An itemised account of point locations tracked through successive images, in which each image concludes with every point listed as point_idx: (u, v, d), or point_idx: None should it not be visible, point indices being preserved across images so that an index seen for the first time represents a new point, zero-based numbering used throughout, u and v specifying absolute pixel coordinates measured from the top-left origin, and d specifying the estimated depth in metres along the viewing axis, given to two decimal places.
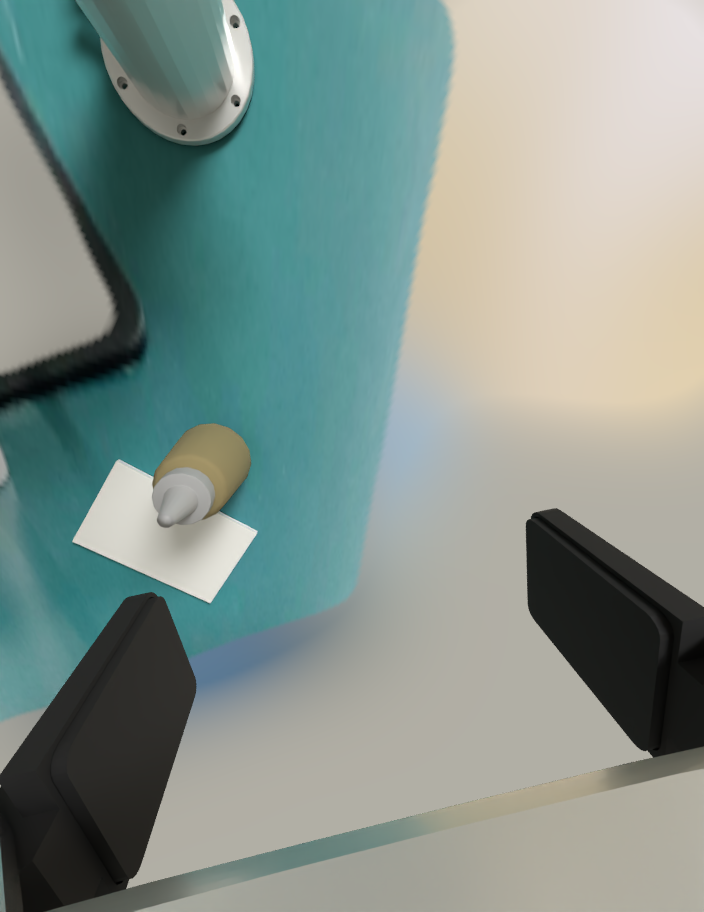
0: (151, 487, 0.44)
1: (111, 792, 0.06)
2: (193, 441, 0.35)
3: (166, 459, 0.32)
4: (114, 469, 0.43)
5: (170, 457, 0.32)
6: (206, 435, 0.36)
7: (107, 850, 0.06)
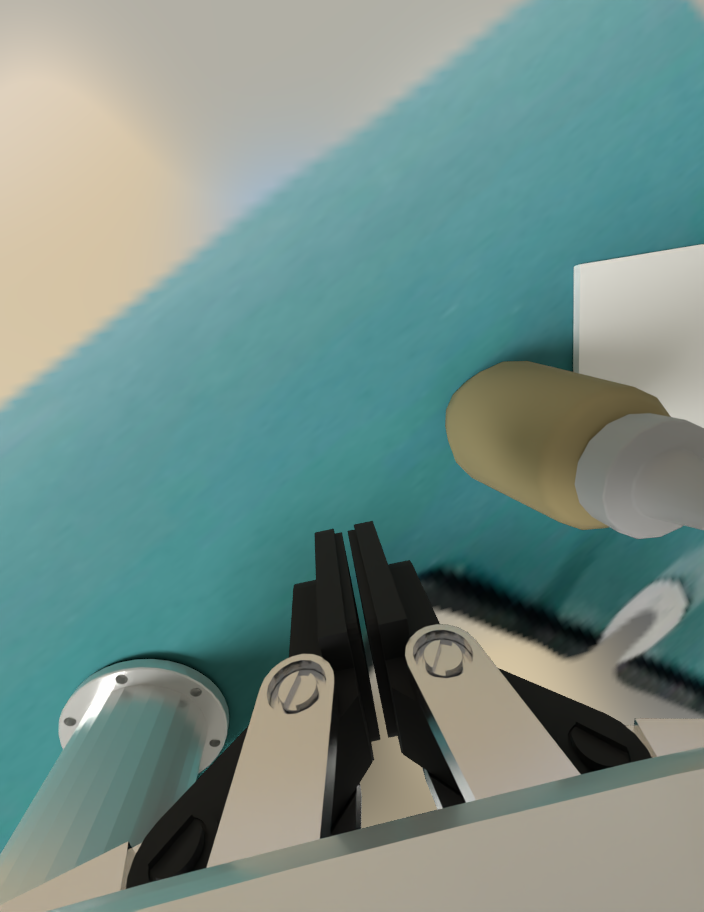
0: None
1: (366, 668, 0.07)
2: (512, 494, 0.19)
3: (578, 527, 0.17)
4: None
5: (571, 525, 0.17)
6: (488, 477, 0.20)
7: (370, 711, 0.07)
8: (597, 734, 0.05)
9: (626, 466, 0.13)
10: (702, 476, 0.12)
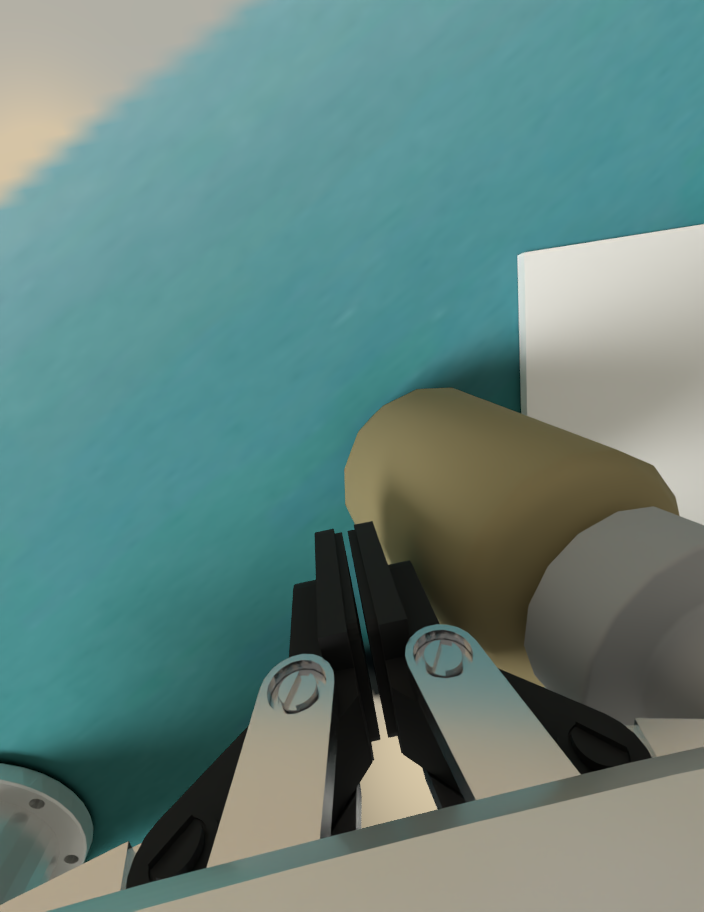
0: None
1: (366, 668, 0.07)
2: None
3: None
4: None
5: None
6: None
7: (370, 711, 0.07)
8: (597, 734, 0.05)
9: (628, 644, 0.06)
10: None
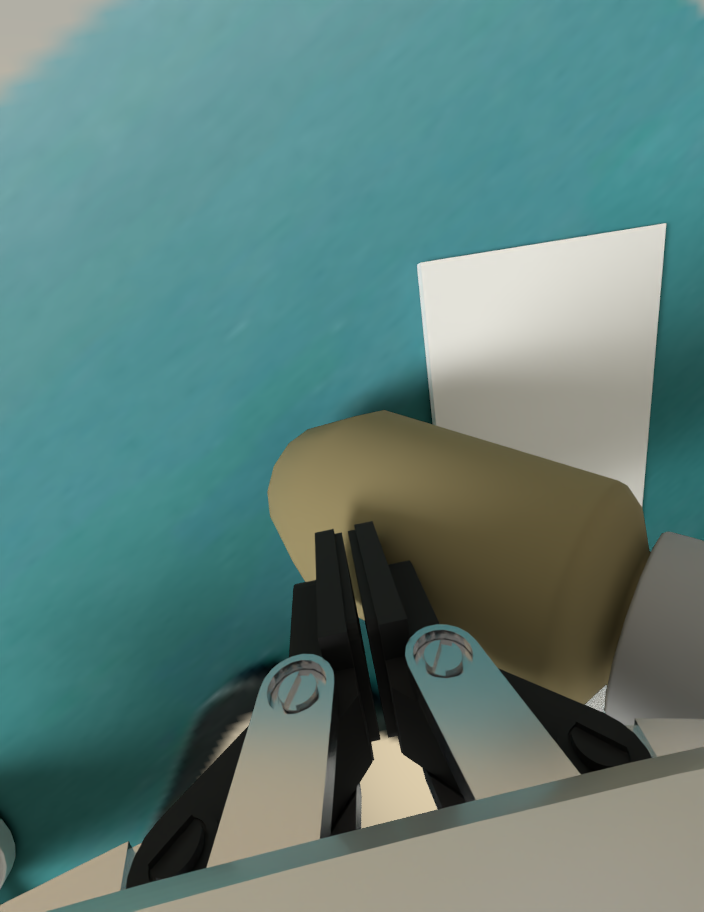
0: None
1: (366, 668, 0.07)
2: None
3: None
4: None
5: None
6: None
7: (370, 711, 0.07)
8: (597, 734, 0.05)
9: None
10: None
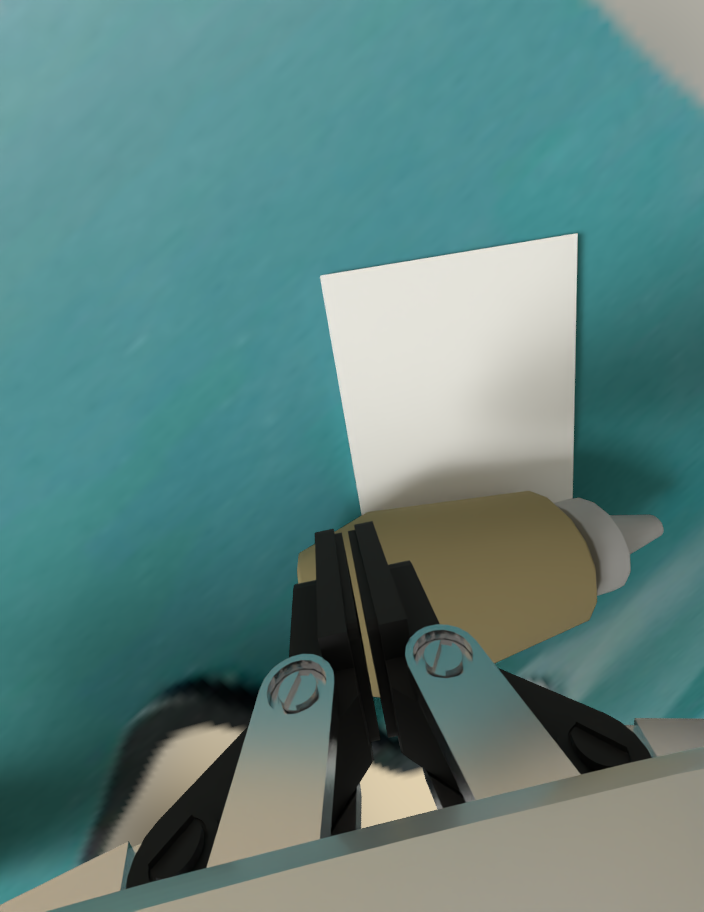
0: None
1: (366, 668, 0.07)
2: None
3: None
4: None
5: None
6: None
7: (370, 711, 0.07)
8: (597, 734, 0.05)
9: None
10: (637, 545, 0.18)
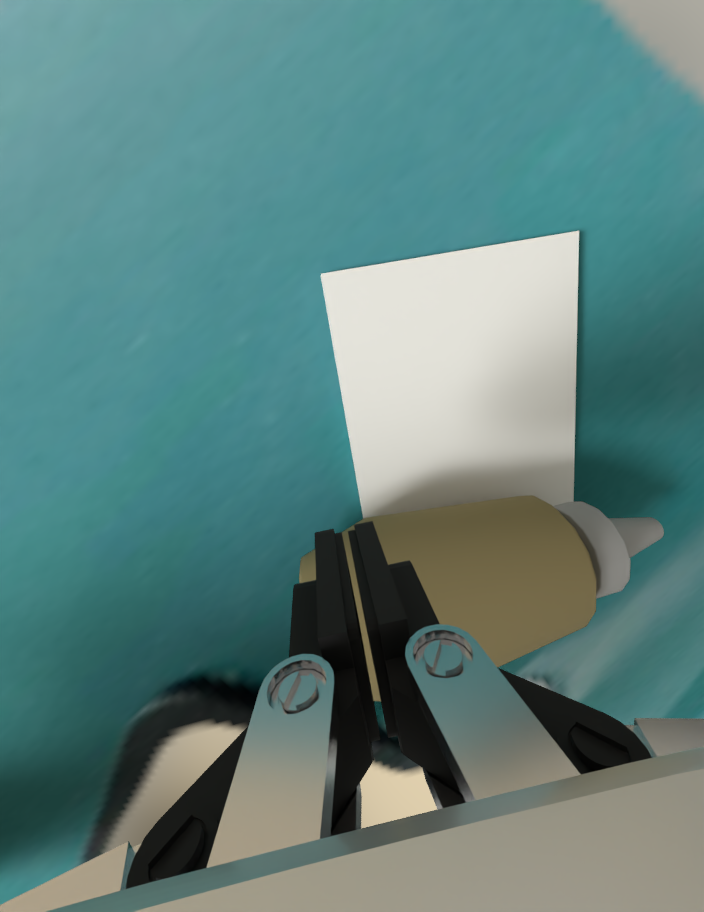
0: None
1: (366, 668, 0.07)
2: None
3: None
4: None
5: None
6: None
7: (370, 711, 0.07)
8: (597, 734, 0.05)
9: None
10: (637, 549, 0.18)
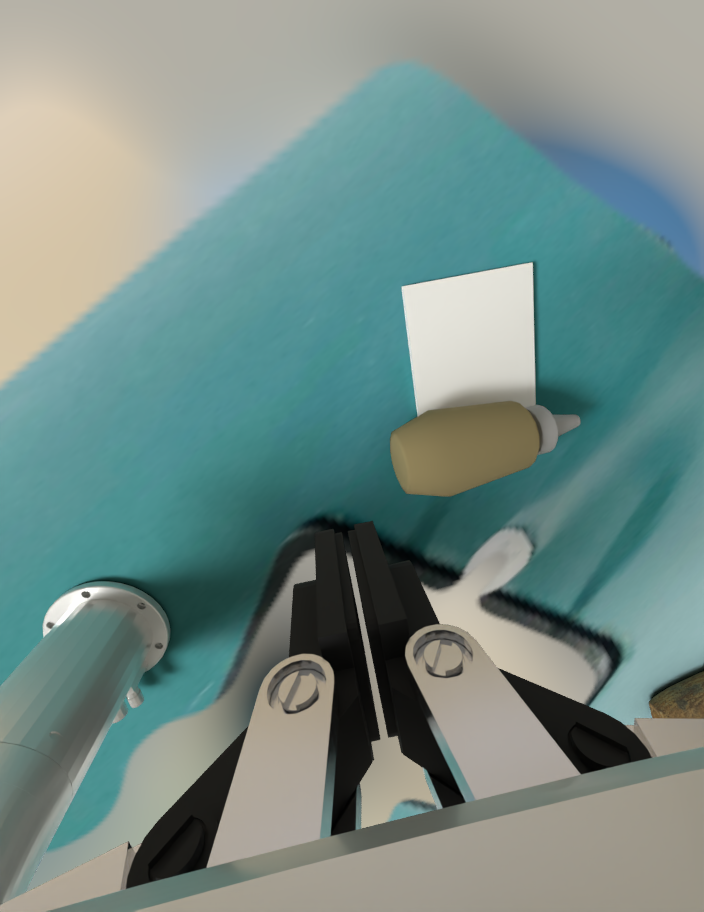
0: None
1: (366, 668, 0.07)
2: None
3: None
4: None
5: None
6: None
7: (370, 711, 0.07)
8: (597, 734, 0.05)
9: None
10: (564, 428, 0.35)
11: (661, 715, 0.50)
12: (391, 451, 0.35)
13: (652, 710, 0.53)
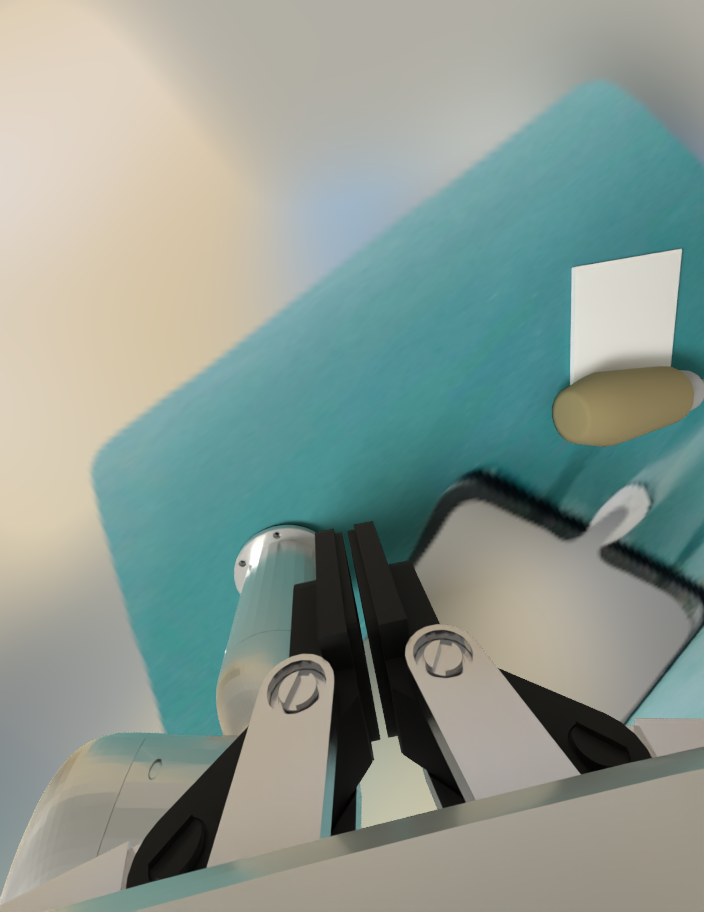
0: None
1: (366, 668, 0.07)
2: None
3: None
4: None
5: None
6: None
7: (369, 711, 0.07)
8: (597, 734, 0.05)
9: None
10: None
11: None
12: (557, 408, 0.41)
13: None
